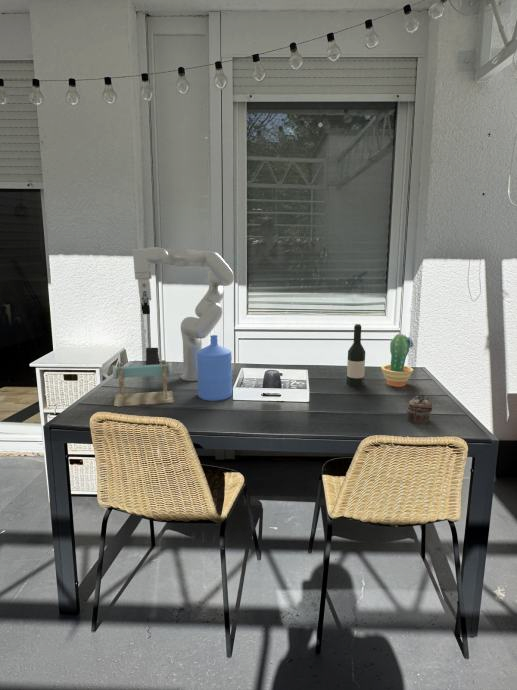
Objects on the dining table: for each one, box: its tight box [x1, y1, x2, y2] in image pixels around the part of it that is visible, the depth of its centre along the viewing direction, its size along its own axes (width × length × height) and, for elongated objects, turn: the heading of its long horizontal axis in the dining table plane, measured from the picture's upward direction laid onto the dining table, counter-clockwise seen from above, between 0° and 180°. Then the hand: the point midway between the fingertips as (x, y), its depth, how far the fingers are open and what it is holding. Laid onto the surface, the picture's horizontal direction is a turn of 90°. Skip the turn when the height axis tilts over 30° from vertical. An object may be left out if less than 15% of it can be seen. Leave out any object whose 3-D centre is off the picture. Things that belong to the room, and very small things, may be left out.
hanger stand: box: [113, 359, 174, 407], centre depth 216 cm, size 25×12×16 cm, turn 103°
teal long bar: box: [112, 361, 173, 380], centre depth 215 cm, size 25×6×6 cm, turn 103°
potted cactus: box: [380, 333, 414, 388], centre depth 239 cm, size 15×15×25 cm
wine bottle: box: [346, 323, 366, 388], centre depth 238 cm, size 8×8×30 cm
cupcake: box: [405, 394, 433, 424], centre depth 194 cm, size 10×10×10 cm
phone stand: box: [145, 347, 161, 365], centre depth 267 cm, size 9×6×12 cm, turn 178°
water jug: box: [197, 334, 233, 402], centre depth 221 cm, size 16×16×28 cm
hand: (145, 312), depth 229 cm, fingers open, 9 cm apart
